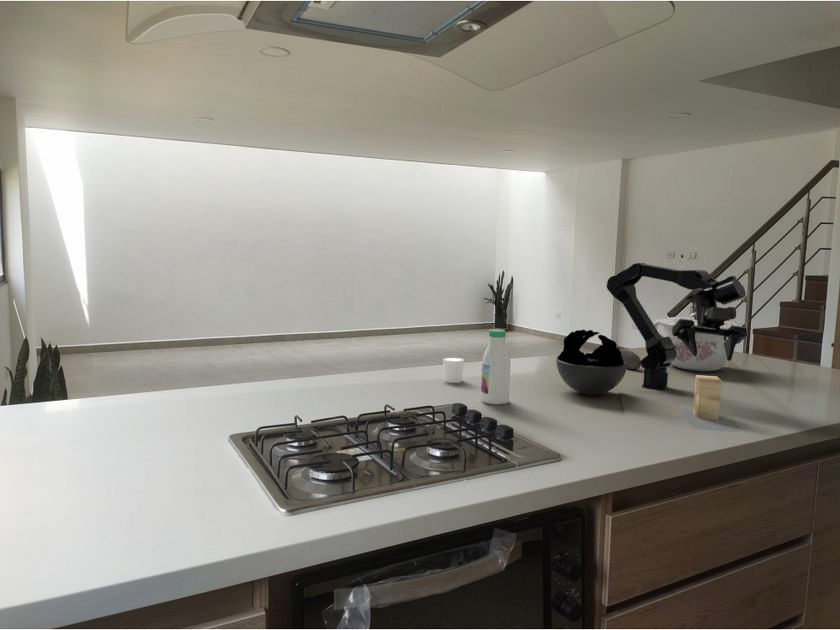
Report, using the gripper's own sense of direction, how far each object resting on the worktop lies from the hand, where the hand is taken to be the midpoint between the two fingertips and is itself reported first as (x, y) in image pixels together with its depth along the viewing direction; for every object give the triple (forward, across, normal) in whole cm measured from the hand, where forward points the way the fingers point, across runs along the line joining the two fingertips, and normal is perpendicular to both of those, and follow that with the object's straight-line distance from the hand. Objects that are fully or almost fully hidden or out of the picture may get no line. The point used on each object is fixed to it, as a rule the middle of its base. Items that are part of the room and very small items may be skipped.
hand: (712, 358), depth 160 cm
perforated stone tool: (-19, -7, +49) cm, 53 cm away
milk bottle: (+18, -58, +9) cm, 61 cm away
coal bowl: (+8, -29, +17) cm, 35 cm away
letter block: (+18, -4, -1) cm, 18 cm away
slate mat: (+20, -5, -4) cm, 21 cm away
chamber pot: (-23, +19, +50) cm, 59 cm away
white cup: (+4, -69, +29) cm, 75 cm away
